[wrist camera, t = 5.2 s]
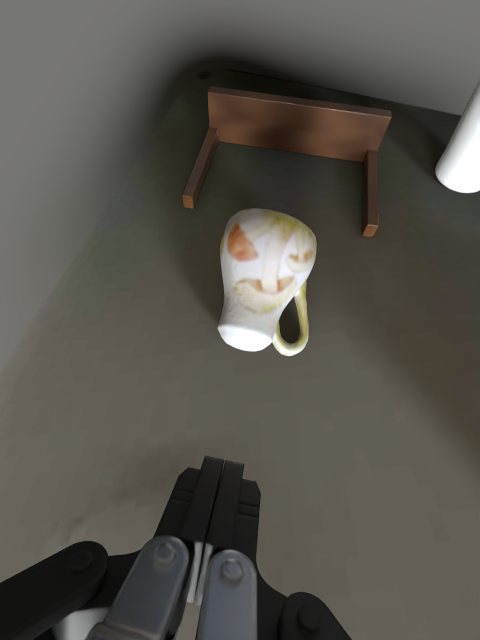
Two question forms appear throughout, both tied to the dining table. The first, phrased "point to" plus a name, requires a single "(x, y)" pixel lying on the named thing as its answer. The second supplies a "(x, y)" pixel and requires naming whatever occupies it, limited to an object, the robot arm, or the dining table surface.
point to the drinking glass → (463, 151)
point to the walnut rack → (294, 136)
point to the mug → (264, 278)
